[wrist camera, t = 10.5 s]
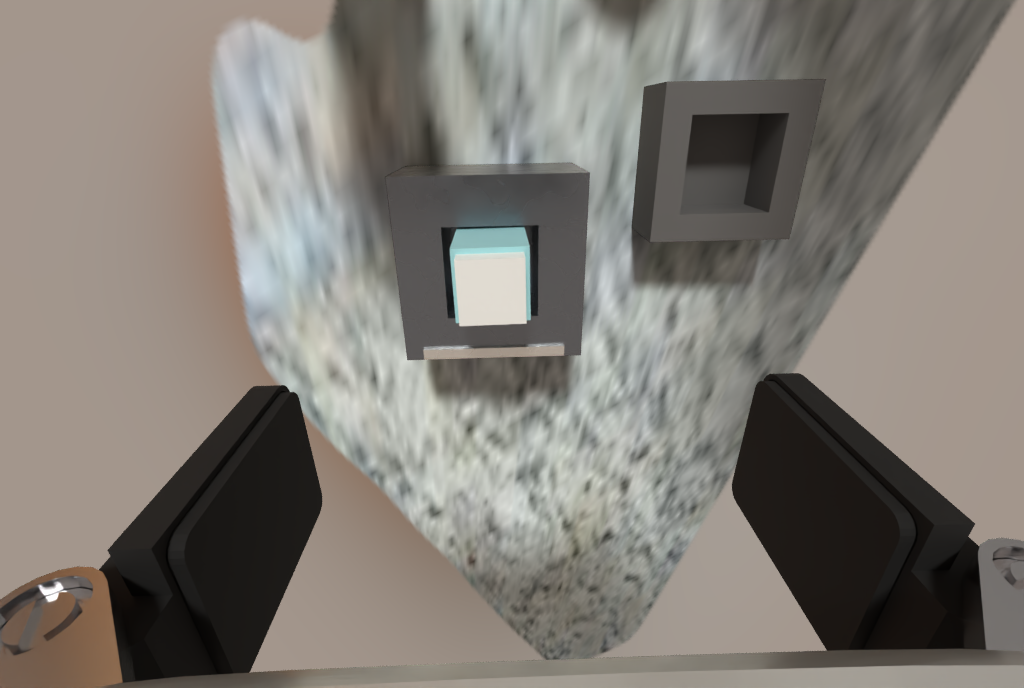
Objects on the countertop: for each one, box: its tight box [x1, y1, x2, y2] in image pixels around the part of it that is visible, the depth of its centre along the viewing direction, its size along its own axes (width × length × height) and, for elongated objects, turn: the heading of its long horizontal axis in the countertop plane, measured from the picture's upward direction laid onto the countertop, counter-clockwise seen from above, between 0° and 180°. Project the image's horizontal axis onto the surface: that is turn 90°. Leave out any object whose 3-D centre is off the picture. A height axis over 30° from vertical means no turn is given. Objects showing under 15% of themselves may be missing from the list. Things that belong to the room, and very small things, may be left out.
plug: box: [450, 226, 531, 326], centre depth 25 cm, size 4×4×10 cm
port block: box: [385, 163, 590, 360], centre depth 28 cm, size 10×10×6 cm
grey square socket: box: [632, 79, 826, 242], centre depth 27 cm, size 8×8×4 cm
